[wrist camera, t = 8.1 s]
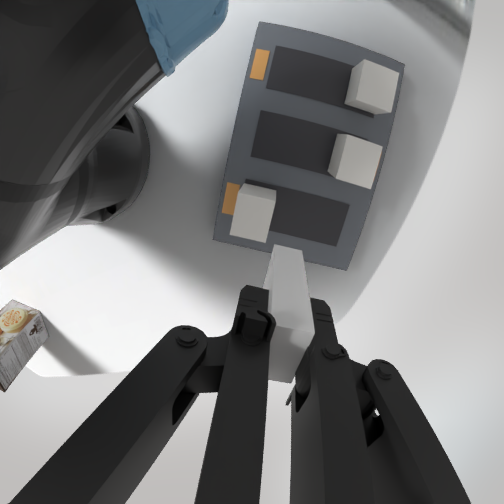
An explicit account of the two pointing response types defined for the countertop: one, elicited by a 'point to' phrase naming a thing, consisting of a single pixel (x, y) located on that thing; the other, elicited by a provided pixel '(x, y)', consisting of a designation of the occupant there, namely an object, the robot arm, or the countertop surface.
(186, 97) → the countertop surface
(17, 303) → the coffee box
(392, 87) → the switch tab
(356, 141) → the switch tab
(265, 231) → the switch tab
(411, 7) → the countertop surface
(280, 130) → the switch panel
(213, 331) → the countertop surface
